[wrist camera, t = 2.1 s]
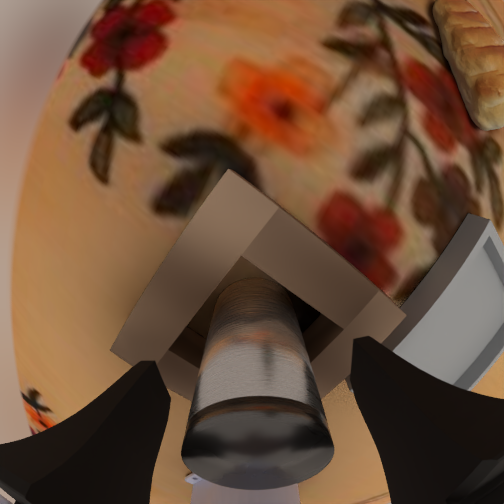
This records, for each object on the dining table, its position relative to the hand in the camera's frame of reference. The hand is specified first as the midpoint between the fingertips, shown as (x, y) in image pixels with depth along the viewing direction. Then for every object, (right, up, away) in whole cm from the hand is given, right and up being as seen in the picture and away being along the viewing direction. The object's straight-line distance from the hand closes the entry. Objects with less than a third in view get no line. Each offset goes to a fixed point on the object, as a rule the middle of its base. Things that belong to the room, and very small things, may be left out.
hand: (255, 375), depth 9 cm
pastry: (+14, +16, +1) cm, 21 cm away
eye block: (0, +1, +5) cm, 5 cm away
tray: (+13, -1, +5) cm, 14 cm away
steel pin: (0, +1, +5) cm, 5 cm away
